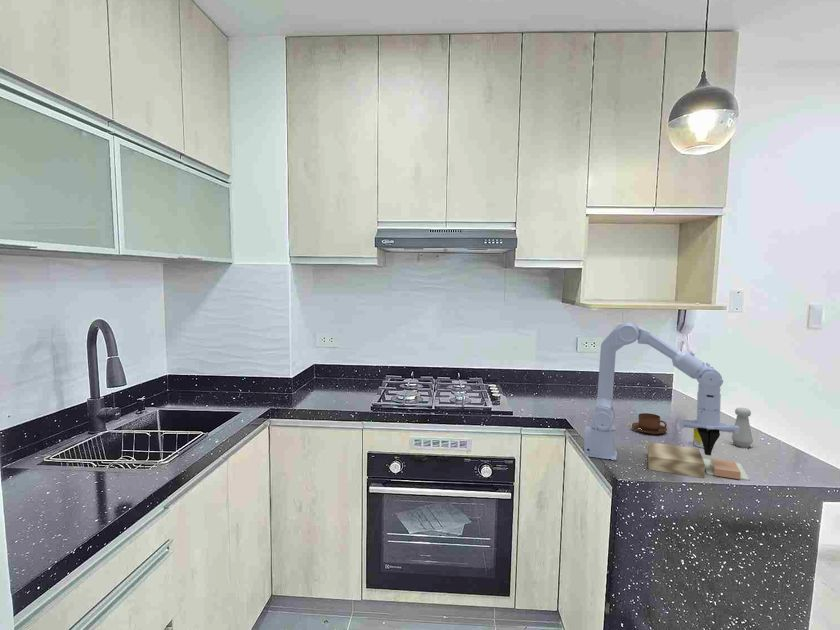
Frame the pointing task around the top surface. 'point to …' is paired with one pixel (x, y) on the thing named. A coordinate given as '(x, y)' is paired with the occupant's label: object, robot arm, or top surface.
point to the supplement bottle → (697, 439)
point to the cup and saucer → (650, 424)
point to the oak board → (675, 459)
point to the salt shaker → (742, 428)
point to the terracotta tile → (725, 468)
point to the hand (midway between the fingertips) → (707, 454)
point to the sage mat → (710, 472)
